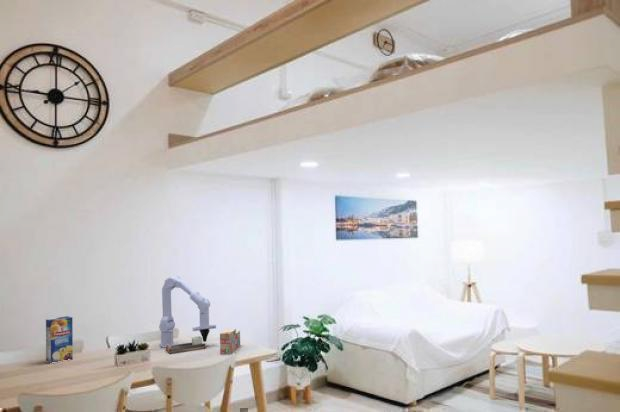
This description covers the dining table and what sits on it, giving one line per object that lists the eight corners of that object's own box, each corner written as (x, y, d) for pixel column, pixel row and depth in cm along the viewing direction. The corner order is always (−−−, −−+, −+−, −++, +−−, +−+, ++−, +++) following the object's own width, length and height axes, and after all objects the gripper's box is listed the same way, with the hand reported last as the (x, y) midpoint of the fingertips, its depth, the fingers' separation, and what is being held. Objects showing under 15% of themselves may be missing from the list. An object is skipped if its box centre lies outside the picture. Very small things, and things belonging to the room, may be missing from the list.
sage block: (191, 345, 302) (191, 337, 302) (199, 344, 304) (199, 336, 304) (194, 347, 297) (194, 338, 298) (202, 345, 300) (202, 337, 300)
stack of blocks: (230, 345, 305) (230, 325, 305) (240, 345, 304) (240, 325, 304) (220, 354, 283) (219, 333, 284) (230, 354, 283) (230, 333, 283)
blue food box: (67, 357, 286) (67, 316, 288) (72, 359, 281) (72, 317, 283) (45, 361, 278) (45, 319, 279) (50, 363, 273) (50, 320, 274)
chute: (165, 350, 297) (165, 343, 297) (200, 344, 308) (200, 338, 308) (170, 354, 286) (170, 347, 287) (206, 348, 297) (206, 342, 298)
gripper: (194, 321, 297) (195, 344, 296) (217, 319, 304) (218, 340, 303) (191, 320, 303) (191, 342, 302) (213, 317, 310) (214, 338, 310)
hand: (204, 341), depth 303 cm, fingers closed
